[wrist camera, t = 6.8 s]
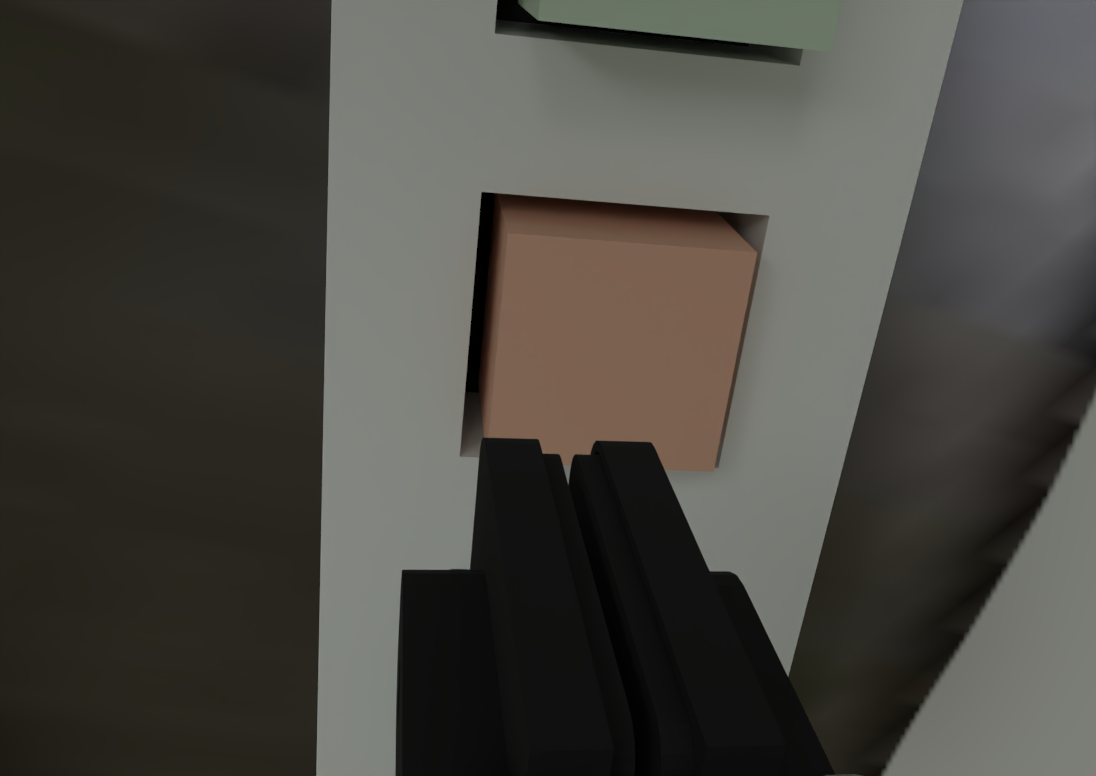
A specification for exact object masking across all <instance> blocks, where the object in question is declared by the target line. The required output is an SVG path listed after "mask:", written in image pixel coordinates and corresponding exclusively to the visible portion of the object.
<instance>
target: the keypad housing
mask: <svg viewBox="0 0 1096 776" xmlns="http://www.w3.org/2000/svg"><path fill="white" fill-rule="evenodd" d="M963 1H964V0H842V4H841V9H840V14H839V18H838V23H837V28H836V32H835V37H834V42H833V47H832V51H831V52H826V51H817V50H807V49H798V48H789V47H779V46H770V45H761V44H752V43H749V46H739V45H730V44H720V43H711V42H702V41H692V40H683V39H674V38H664V37H655V36H646V35H636V34H627V33H618V32H608V31H599V30H590V29H580V28H571V27H562V26H553V25H543V24H534V23H525V22H515V21H506V20H497V19H496V11H497V0H332V11H331V61H330V111H329V162H328V212H327V263H326V313H325V364H324V414H323V465H322V515H321V566H320V616H319V667H318V717H317V768H316V776H395V770H396V696H397V661H398V635H399V613H400V592H401V576H402V570H450V569H470V562H471V550H472V538H473V526H474V514H475V502H476V490H477V478H478V465H479V454H480V446H481V441H482V438H484V435H483V425H482V416H481V407H480V397H479V392H465V386H466V374H467V362H468V350H469V338H470V326H471V314H472V302H473V290H474V277H475V265H476V253H477V241H478V229H479V217H480V205H481V193H482V192H490V193H502V194H514V195H526V196H538V197H550V198H562V199H575V200H587V201H599V202H611V203H623V204H635V205H647V206H659V207H671V208H684V209H696V210H708V211H719V212H718V214H719V215H720V216H721V217H722V218H723V219H724V220H725V221H726V222H727V223H728V224H729V225H730V226H731V227H732V228H733V229H734V230H735V231H736V232H737V233H738V234H739V235H740V236H741V237H742V238H743V239H744V240H745V241H746V242H747V243H748V244H749V245H750V246H751V247H752V248H753V249H754V250H756V251H757V257H756V262H755V267H754V272H753V277H752V282H751V287H750V292H749V297H748V302H747V307H746V312H745V317H744V322H743V327H742V332H741V337H740V342H739V347H738V352H737V357H736V362H735V367H734V372H733V377H732V382H731V387H730V392H729V397H728V402H727V407H726V412H725V417H724V422H723V427H722V432H721V437H720V442H719V447H718V452H717V457H716V462H715V467H714V472H707V471H684V470H665V472H666V474H667V476H668V479H669V481H670V483H671V485H672V488H673V490H674V492H675V494H676V497H677V499H678V501H679V503H680V506H681V508H682V510H683V512H684V515H685V517H686V519H687V521H688V524H689V526H690V528H691V530H692V533H693V535H694V537H695V539H696V542H697V544H698V546H699V548H700V551H701V553H702V555H703V557H704V560H705V562H706V564H707V566H708V569H709V571H730V572H732V573H734V574H736V575H737V576H738V577H739V579H740V580H741V582H742V583H743V585H744V587H745V589H746V591H747V593H748V595H749V597H750V599H751V601H752V603H753V605H754V608H755V610H756V612H757V614H758V616H759V618H760V620H761V622H762V624H763V626H764V628H765V630H766V632H767V634H768V637H769V639H770V641H771V643H772V645H773V647H774V649H775V651H776V653H777V655H778V657H779V659H780V661H781V663H782V665H783V668H784V670H785V672H786V674H787V676H789V672H790V668H791V664H792V660H793V656H794V652H795V649H796V645H797V641H798V637H799V633H800V629H801V625H802V622H803V618H804V614H805V610H806V606H807V602H808V598H809V595H810V591H811V587H812V583H813V579H814V575H815V572H816V568H817V564H818V560H819V556H820V552H821V548H822V545H823V541H824V537H825V533H826V529H827V525H828V521H829V518H830V514H831V510H832V506H833V502H834V498H835V494H836V491H837V487H838V483H839V479H840V475H841V471H842V467H843V464H844V460H845V456H846V452H847V448H848V444H849V440H850V437H851V433H852V429H853V425H854V421H855V417H856V413H857V410H858V406H859V402H860V398H861V394H862V390H863V386H864V383H865V379H866V375H867V371H868V367H869V363H870V359H871V356H872V352H873V348H874V344H875V340H876V336H877V332H878V329H879V325H880V321H881V317H882V313H883V309H884V305H885V302H886V298H887V294H888V290H889V286H890V282H891V278H892V275H893V271H894V267H895V263H896V259H897V255H898V251H899V248H900V244H901V240H902V236H903V232H904V228H905V224H906V221H907V217H908V213H909V209H910V205H911V201H912V197H913V194H914V190H915V186H916V182H917V178H918V174H919V170H920V167H921V163H922V159H923V155H924V151H925V147H926V143H927V140H928V136H929V132H930V128H931V124H932V120H933V116H934V113H935V109H936V105H937V101H938V97H939V93H940V89H941V86H942V82H943V78H944V74H945V70H946V66H947V62H948V59H949V55H950V51H951V47H952V43H953V39H954V36H955V32H956V28H957V24H958V20H959V16H960V12H961V9H962V5H963ZM563 467H564V471H565V474H566V478H567V482H568V484H569V476H570V469H571V465H563Z"/></svg>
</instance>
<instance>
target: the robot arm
mask: <svg viewBox="0 0 1096 776" xmlns="http://www.w3.org/2000/svg"><path fill="white" fill-rule="evenodd" d="M395 776H861V775H856V774H845V775H835V773H834V771H833V769H832V767H831V765H830V763H829V761H828V759H827V756H826V754H825V752H824V750H823V748H822V746H821V744H820V742H819V740H818V738H817V736H816V734H815V732H814V730H813V728H812V725H811V723H810V721H809V719H808V717H807V715H806V713H805V711H804V709H803V707H802V705H801V703H800V701H799V699H798V696H797V694H796V692H795V690H794V688H793V686H792V684H791V682H790V680H789V678H788V676H787V674H786V672H785V670H784V668H783V665H782V663H781V661H780V659H779V657H778V655H777V653H776V651H775V649H774V647H773V645H772V643H771V641H770V639H769V637H768V634H767V632H766V630H765V628H764V626H763V624H762V622H761V620H760V618H759V616H758V614H757V612H756V610H755V608H754V605H753V603H752V601H751V599H750V597H749V595H748V593H747V591H746V589H745V587H744V585H743V583H742V582H741V580H740V579H739V577H738V576H737V575H736V574H734V573H732V572H730V571H709V569H708V566H707V564H706V562H705V560H704V557H703V555H702V553H701V551H700V548H699V546H698V544H697V542H696V539H695V537H694V535H693V533H692V530H691V528H690V526H689V524H688V521H687V519H686V517H685V515H684V512H683V510H682V508H681V506H680V503H679V501H678V499H677V497H676V494H675V492H674V490H673V488H672V485H671V483H670V481H669V479H668V476H667V474H666V472H665V470H664V467H663V465H662V463H661V461H660V458H659V456H658V454H657V452H656V449H655V447H654V446H653V444H652V443H651V442H633V441H595V443H594V444H593V447H592V450H591V454H590V455H583V454H575V455H574V457H573V459H572V463H571V469H570V476H569V484H568V482H567V478H566V474H565V471H564V467H563V463H562V460H561V457H560V454H543V453H542V449H541V445H540V442H539V439H520V438H482V441H481V446H480V454H479V465H478V478H477V490H476V502H475V514H474V526H473V538H472V550H471V562H470V570H402V576H401V592H400V613H399V635H398V661H397V696H396V770H395Z"/></svg>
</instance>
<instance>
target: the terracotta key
mask: <svg viewBox="0 0 1096 776" xmlns="http://www.w3.org/2000/svg"><path fill="white" fill-rule="evenodd" d="M756 257H757V251H756V250H754V249H753V248H752V247H751V246H750V245H749V244H748V243H747V242H746V241H745V240H744V239H743V238H742V237H741V236H740V235H739V234H738V233H737V232H736V231H735V230H734V229H733V228H732V227H731V226H730V225H729V224H728V223H727V222H726V221H725V220H724V219H723V218H722V217H721V216H720V215H719V214H718V213H717V212H716V211H708V210H696V209H684V208H671V207H659V206H647V205H635V204H623V203H611V202H599V201H587V200H575V199H562V198H550V197H538V196H526V195H514V194H502V193H495V198H494V209H493V220H492V232H491V243H490V255H489V266H488V277H487V289H486V300H485V311H484V323H483V334H482V345H481V357H480V368H479V379H478V388H479V397H480V407H481V416H482V425H483V435H484V438H520V439H539V442H540V445H541V449H542V453H543V454H560V457H561V460H562V463H563V465H571V463H572V459H573V457H574V455H575V454H583V455H590V454H591V450H592V447H593V444H594V443H595V441H633V442H651V443H652V444H653V446H654V447H655V449H656V452H657V454H658V456H659V458H660V461H661V463H662V465H663V467H664V470H684V471H707V472H714V467H715V462H716V457H717V452H718V447H719V442H720V437H721V432H722V427H723V422H724V417H725V412H726V407H727V402H728V397H729V392H730V387H731V382H732V377H733V372H734V367H735V362H736V357H737V352H738V347H739V342H740V337H741V332H742V327H743V322H744V317H745V312H746V307H747V302H748V297H749V292H750V287H751V282H752V277H753V272H754V267H755V262H756Z"/></svg>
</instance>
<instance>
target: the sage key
mask: <svg viewBox="0 0 1096 776" xmlns="http://www.w3.org/2000/svg"><path fill="white" fill-rule="evenodd" d="M518 4H519V5H521V6H522V7H523V8H524V9H525V10H526V11H528V12H529V13H530V14H531V15H532V16H533V17H535V18H536V19H537V20H538V21H547V22H557V23H566V24H575V25H585V26H594V27H603V28H612V29H622V30H631V31H640V32H650V33H659V34H668V35H677V36H687V37H696V38H705V39H714V40H724V41H733V42H742V43H752V44H761V45H770V46H779V47H789V48H798V49H807V50H817V51H826V52H831V51H832V47H833V42H834V37H835V32H836V28H837V23H838V18H839V14H840V9H841V4H842V0H518Z"/></svg>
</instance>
